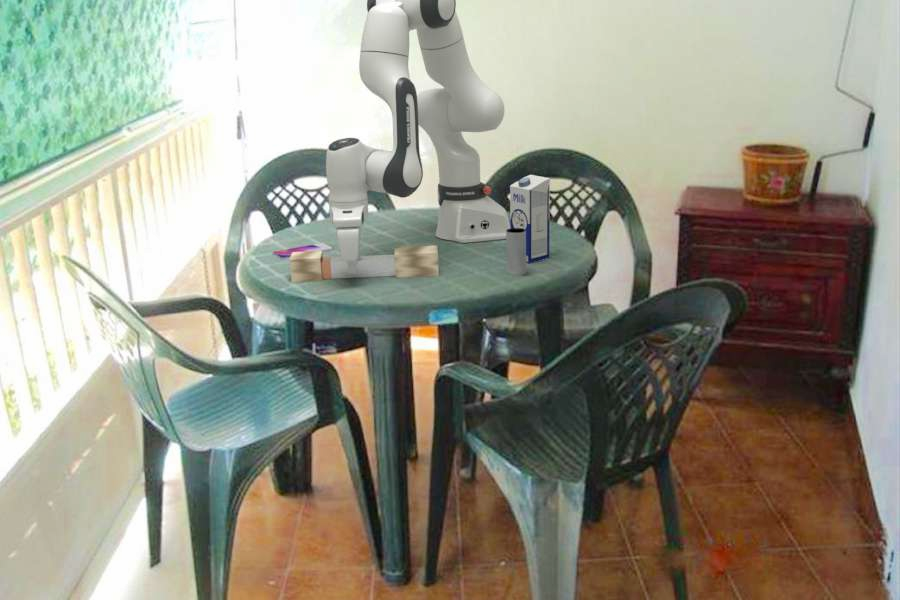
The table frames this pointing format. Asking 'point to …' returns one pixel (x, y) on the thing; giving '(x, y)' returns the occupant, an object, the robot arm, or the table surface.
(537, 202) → the milk carton
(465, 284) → the table surface
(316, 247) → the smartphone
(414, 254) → the sleeve
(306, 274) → the beige wooden block
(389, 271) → the slip tube
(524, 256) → the grey cylinder
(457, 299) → the table surface
